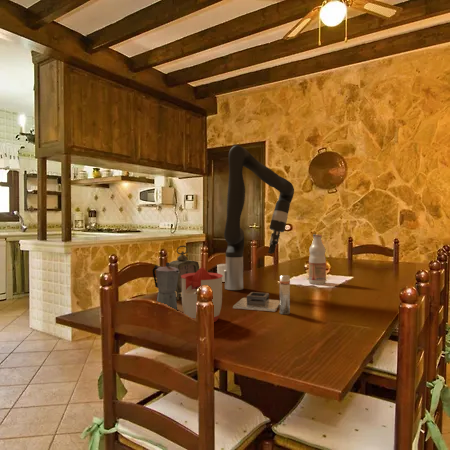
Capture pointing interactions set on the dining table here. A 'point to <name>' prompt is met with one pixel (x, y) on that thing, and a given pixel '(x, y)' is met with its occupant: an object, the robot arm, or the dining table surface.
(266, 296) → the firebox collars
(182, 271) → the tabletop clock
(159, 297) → the moka pot
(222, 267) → the white cup
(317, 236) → the fruit juice
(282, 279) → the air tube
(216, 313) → the citrus juicer
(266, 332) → the dining table surface
